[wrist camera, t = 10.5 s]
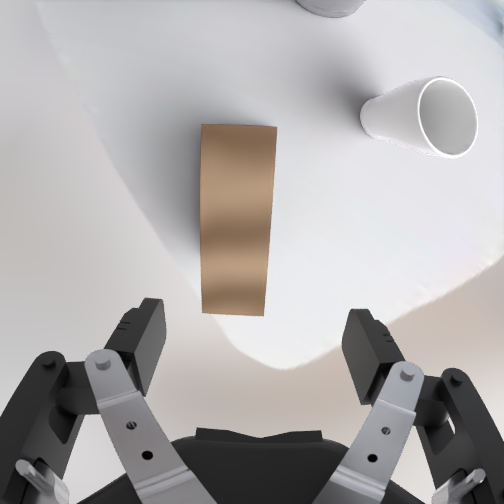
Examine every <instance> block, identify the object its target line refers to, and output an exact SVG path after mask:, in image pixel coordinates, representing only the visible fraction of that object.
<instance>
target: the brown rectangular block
mask: <svg viewBox="0 0 504 504" xmlns="http://www.w3.org/2000/svg"><path fill="white" fill-rule="evenodd" d="M276 138H277V127H271V126H254V125H224V124H202V132H201V170H200V255H201V294H202V313H209V314H226V315H246V316H264V306H265V294H266V281H267V269H268V256H269V243H270V229H271V215H272V201H273V186H274V170H275V155H276Z"/></svg>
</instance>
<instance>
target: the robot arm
mask: <svg viewBox="0 0 504 504" xmlns="http://www.w3.org/2000/svg"><path fill="white" fill-rule="evenodd" d="M296 1H297V2H298V3H299V4H300V5H301V6H303V7H304V8H305V9H307V10H309V11H310V12H313V13H315V14H318V15H321V16H325V17H333V18H336V17H344V16H347V15H350V14H352V13H353V12H355V11H356V10H357V9H358V8H359V7H360V6H361V5H362V3H363V2H364V1H365V0H296ZM165 340H166V322H165V313H164V304H163V300H162V299H153V298H144V300H143V301H142V303H141V305H140V307H139V308H132V309H130V310H129V311H128V312H127V313H125V314H124V316H123V317H122V319H121V320H120V323H119V324H118V325H117V327H116V329H115V330H114V332H113V334H112V335H111V337H110V339H109V340H108V342H107V344H106V345H105V347H104V349H101V350H97V351H94V352H92V353H91V354H90V355H88V356H87V358H86V360H85V361H82V362H66V360H65V358H64V356H63V355H62V354H61V353H59V352H56V351H48V352H45V353H42V354H40V355H39V356H38V357H37V358H36V359H35V360H34V362H33V363H32V365H31V366H30V368H29V370H28V371H27V373H26V374H25V376H24V377H23V379H22V381H21V382H20V384H19V386H18V387H17V389H16V390H15V392H14V394H13V395H12V397H11V399H10V401H9V402H8V404H7V406H6V408H5V410H4V411H3V413H2V415H1V417H0V504H69V491H68V488H67V486H66V485H65V483H64V482H63V481H62V479H63V476H64V473H65V470H66V467H67V464H68V461H69V457H70V455H71V452H72V449H73V446H74V443H75V440H76V438H77V435H78V432H79V429H80V427H81V424H82V422H83V419H84V416H85V415H86V414H89V415H90V414H100V415H101V417H102V419H103V422H104V424H105V427H106V429H107V432H108V434H109V436H110V439H111V441H112V443H113V445H114V448H115V450H116V452H117V454H118V456H119V459H120V461H121V463H122V465H123V466H124V469H125V471H126V473H125V474H123V475H122V476H120V477H119V478H117V479H116V480H114V481H113V482H111V483H110V484H108V485H106V486H105V487H103V488H102V489H100V490H99V491H97V492H95V493H94V494H92V495H90V496H89V497H87V498H86V499H84V500H82V501H80V502H79V503H77V504H425V503H424V502H422V501H421V500H419V499H418V498H416V497H415V496H413V495H412V494H410V493H409V492H407V491H406V490H405V489H403V488H402V487H400V486H399V485H397V484H396V483H395V482H393V481H392V480H390V478H391V476H392V474H393V471H394V469H395V467H396V465H397V462H398V460H399V458H400V456H401V453H402V451H403V448H404V445H405V443H406V441H407V438H408V435H409V433H410V430H411V427H412V425H413V426H416V429H417V432H418V434H419V437H420V440H421V443H422V446H423V449H424V452H425V455H426V459H427V462H428V465H429V468H430V471H431V475H432V478H433V482H434V485H435V488H436V491H435V493H434V494H433V497H432V504H504V441H503V439H502V437H501V435H500V433H499V431H498V429H497V427H496V425H495V423H494V421H493V419H492V418H491V416H490V414H489V412H488V410H487V408H486V406H485V404H484V403H483V401H482V399H481V397H480V395H479V394H478V392H477V390H476V389H475V387H474V385H473V384H472V382H471V380H470V378H469V377H468V375H467V374H466V373H464V372H463V371H461V370H459V369H456V368H448V369H446V370H444V371H443V373H442V375H441V377H433V376H426V375H424V373H423V371H422V370H421V368H420V367H418V366H417V365H415V364H414V363H411V362H407V361H405V359H404V357H403V355H402V353H401V351H400V350H399V348H398V346H397V344H396V343H395V342H394V339H393V337H392V336H391V335H390V332H389V331H388V329H387V327H386V326H385V325H384V324H382V323H381V322H380V321H379V320H374V318H373V317H372V315H371V313H370V311H369V310H368V309H351V310H350V312H349V315H348V319H347V322H346V326H345V330H344V333H343V337H342V350H343V353H344V356H345V359H346V362H347V365H348V367H349V371H350V373H351V376H352V379H353V382H354V385H355V388H356V391H357V394H358V397H359V400H360V403H361V405H368V404H371V405H372V409H371V411H370V413H369V415H368V417H367V419H366V421H365V422H364V424H363V426H362V428H361V430H360V431H359V433H358V435H357V437H356V438H355V440H354V442H353V443H352V445H351V447H350V448H348V447H346V446H344V445H342V444H340V443H338V442H335V441H332V440H328V439H323V438H322V433H321V430H320V431H319V430H318V431H298V432H297V431H296V432H287V433H283V434H278V435H274V436H269V437H264V438H256V437H252V436H248V435H244V434H240V433H236V432H232V431H229V430H218V429H206V428H197V430H196V435H195V436H190V437H184V438H181V439H177V440H175V441H173V442H169V440H168V438H167V437H166V435H165V433H164V432H163V430H162V429H161V427H160V425H159V424H158V422H157V421H156V419H155V417H154V415H153V414H152V412H151V410H150V408H149V407H148V405H147V403H146V401H145V400H144V398H143V397H146V394H147V391H148V388H149V385H150V382H151V380H152V377H153V374H154V371H155V368H156V365H157V363H158V360H159V357H160V355H161V352H162V349H163V346H164V344H165ZM449 417H450V418H451V420H452V422H453V424H454V427H455V434H454V433H453V430H452V428H451V426H450V424H449V421H448V418H449Z"/></svg>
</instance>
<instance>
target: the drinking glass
mask: <svg viewBox="0 0 504 504" xmlns="http://www.w3.org/2000/svg"><path fill="white" fill-rule="evenodd" d="M360 120H361V124H362V127H363V129H364V130H365V131H366V133H367V134H368V135H369V136H371V137H372V138H374V139H377V140H382V141H387V142H390V143H393V144H396V145H399V146H402V147H405V148H408V149H411V150H414V151H417V152H420V153H424V154H428V155H433V156H439V157H447V158H457V157H460V156H462V155H464V154H465V153H467V152H468V151H469V150H470V148H471V147H472V146H473V144H474V142H475V139H476V136H477V131H478V117H477V112H476V108H475V105H474V103H473V101H472V99H471V97H470V95H469V94H468V92H467V91H466V90H465V89H464V87H462V86H461V85H460V84H459V83H458V82H456V81H455V80H453V79H450V78H448V77H443V76H438V77H430V78H424V79H419V80H415V81H412V82H409V83H406V84H404V85H402V86H399V87H397V88H395V89H393V90H391V91H389V92H387V93H385V94H382V95H380V96H378V97H375V98H372V99H369V100H368V101H367V102H366V103H365V104H364V105H363V107H362V109H361V112H360Z"/></svg>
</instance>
